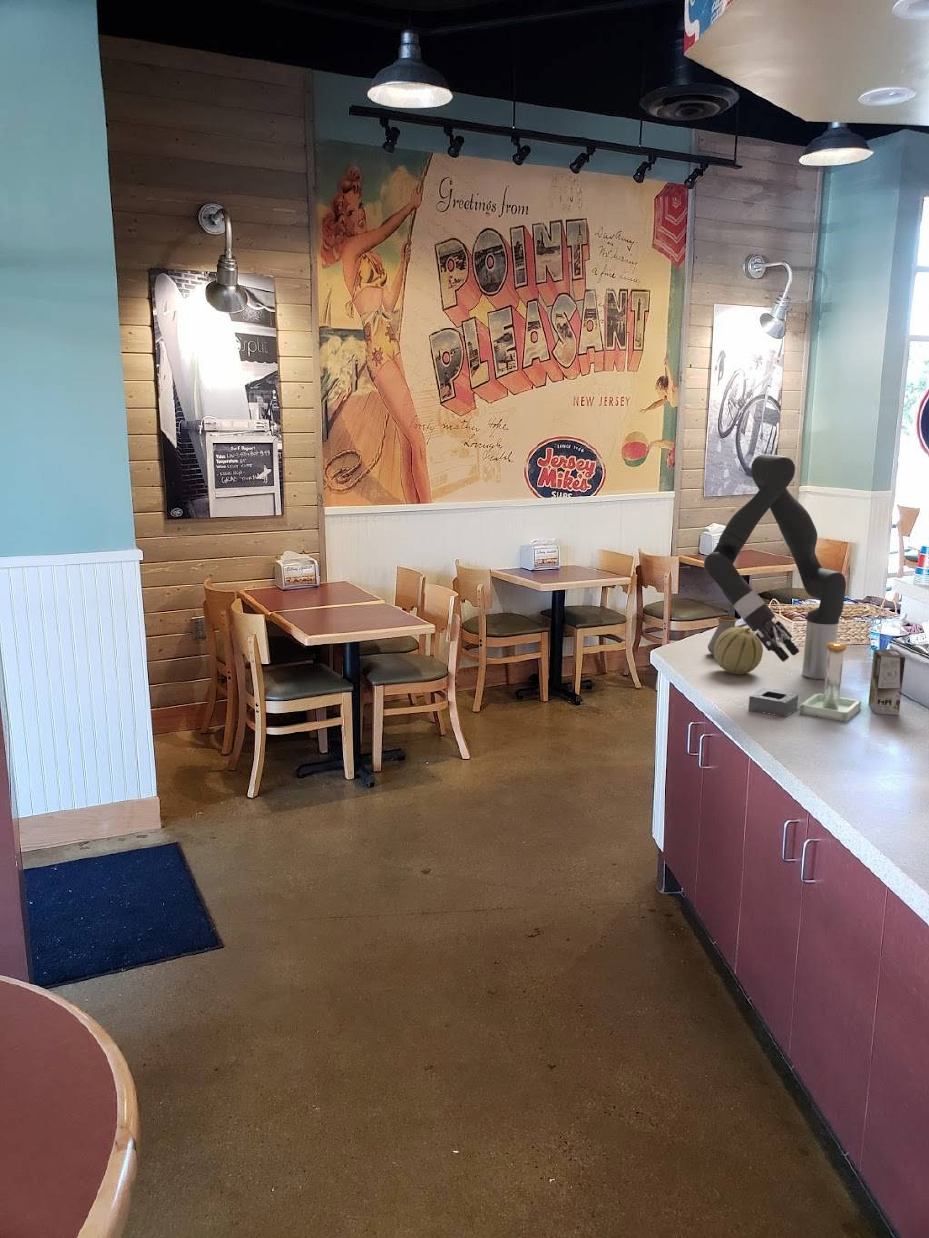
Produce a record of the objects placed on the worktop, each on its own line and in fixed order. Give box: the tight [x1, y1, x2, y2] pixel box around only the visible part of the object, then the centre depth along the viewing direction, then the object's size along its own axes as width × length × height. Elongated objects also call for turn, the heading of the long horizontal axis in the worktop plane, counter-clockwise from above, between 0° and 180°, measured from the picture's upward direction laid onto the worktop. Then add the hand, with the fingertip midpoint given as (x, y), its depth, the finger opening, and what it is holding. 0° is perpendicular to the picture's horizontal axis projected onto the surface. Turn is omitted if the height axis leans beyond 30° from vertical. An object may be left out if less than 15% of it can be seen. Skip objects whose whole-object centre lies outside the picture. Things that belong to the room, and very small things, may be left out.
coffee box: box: [868, 648, 906, 716], centre depth 259 cm, size 9×6×16 cm
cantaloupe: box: [713, 626, 764, 675], centre depth 294 cm, size 15×15×15 cm
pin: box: [823, 641, 847, 710], centre depth 256 cm, size 5×5×18 cm
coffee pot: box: [707, 616, 777, 657], centre depth 315 cm, size 21×12×15 cm, turn 82°
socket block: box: [748, 687, 799, 718], centre depth 259 cm, size 10×10×4 cm
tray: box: [799, 692, 862, 723], centre depth 258 cm, size 14×12×2 cm
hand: (791, 656), depth 263 cm, fingers open, 8 cm apart
